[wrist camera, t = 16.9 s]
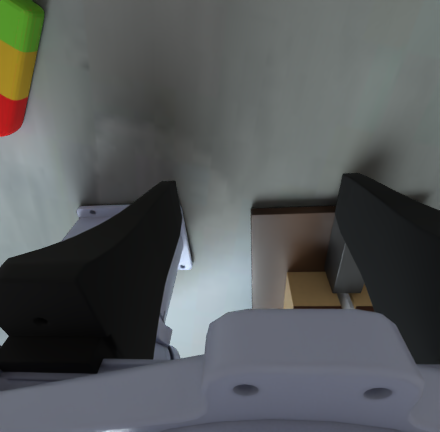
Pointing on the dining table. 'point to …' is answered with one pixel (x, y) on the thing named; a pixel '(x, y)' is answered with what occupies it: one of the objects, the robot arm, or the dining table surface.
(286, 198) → the dining table surface
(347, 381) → the robot arm
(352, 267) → the cake knife
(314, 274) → the cake
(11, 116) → the popsicle
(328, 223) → the board
